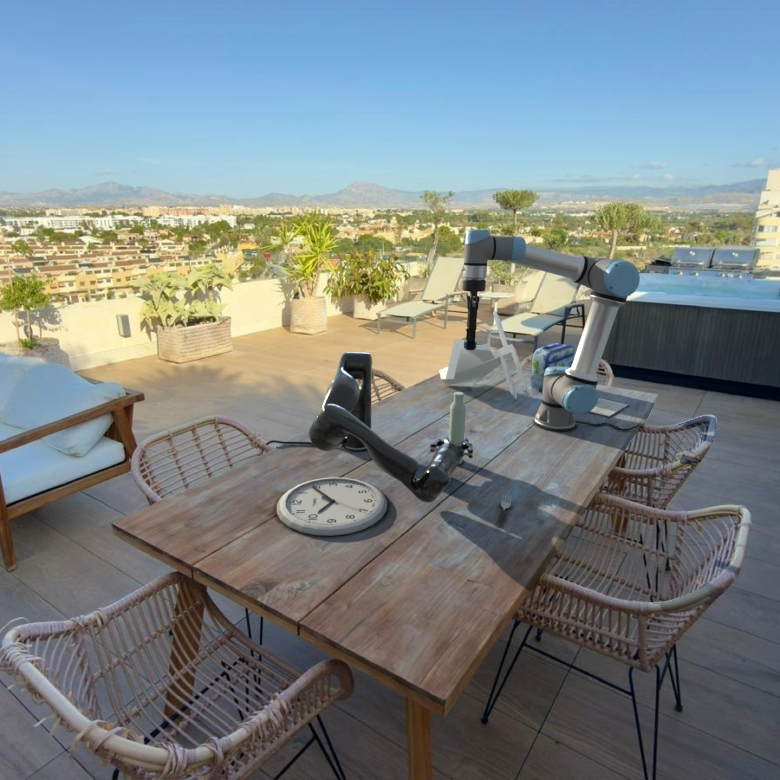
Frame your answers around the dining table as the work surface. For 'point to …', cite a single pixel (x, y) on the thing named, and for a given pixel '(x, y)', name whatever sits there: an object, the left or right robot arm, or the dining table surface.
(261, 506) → the dining table surface
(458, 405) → the bottle
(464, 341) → the cap
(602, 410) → the invitation card
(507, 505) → the fork
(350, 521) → the wall clock
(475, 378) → the white plastic object
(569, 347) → the lunch box
